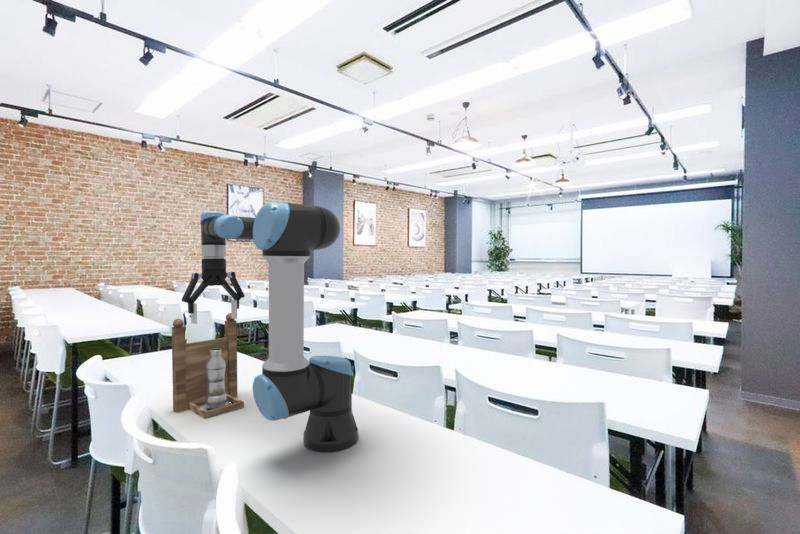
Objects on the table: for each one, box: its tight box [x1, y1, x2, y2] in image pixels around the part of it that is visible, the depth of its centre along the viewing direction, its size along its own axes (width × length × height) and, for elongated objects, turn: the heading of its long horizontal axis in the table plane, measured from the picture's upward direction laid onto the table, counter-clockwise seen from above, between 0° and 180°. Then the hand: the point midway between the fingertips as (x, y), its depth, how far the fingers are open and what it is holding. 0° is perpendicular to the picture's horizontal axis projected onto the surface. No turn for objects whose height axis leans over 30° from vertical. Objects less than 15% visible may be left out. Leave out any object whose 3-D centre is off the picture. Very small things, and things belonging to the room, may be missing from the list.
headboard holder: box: [171, 312, 245, 419], centre depth 140 cm, size 15×21×31 cm
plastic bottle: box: [205, 348, 227, 410], centre depth 140 cm, size 6×7×20 cm
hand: (214, 321), depth 139 cm, fingers open, 13 cm apart
